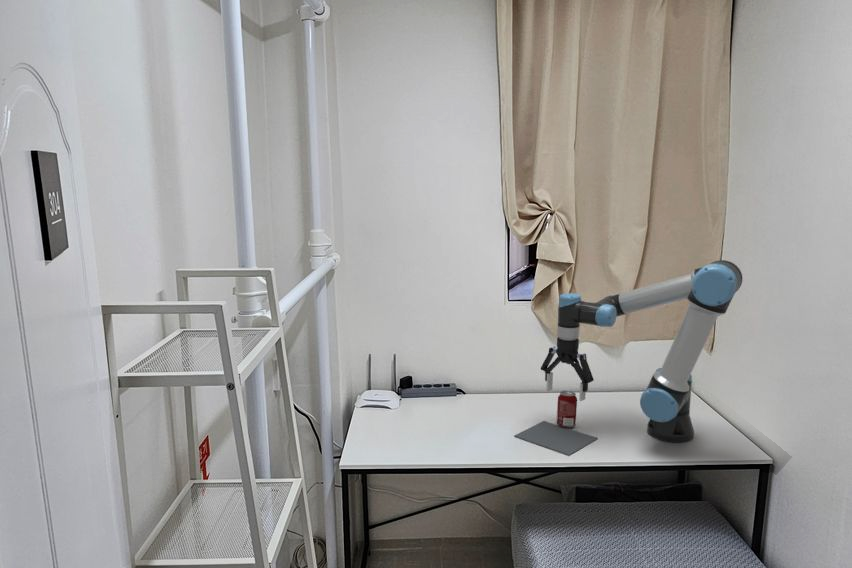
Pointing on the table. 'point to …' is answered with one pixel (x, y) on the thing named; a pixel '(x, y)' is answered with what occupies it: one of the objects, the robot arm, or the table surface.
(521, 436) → the rubber mat
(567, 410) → the soda can
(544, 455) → the table surface
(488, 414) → the table surface
